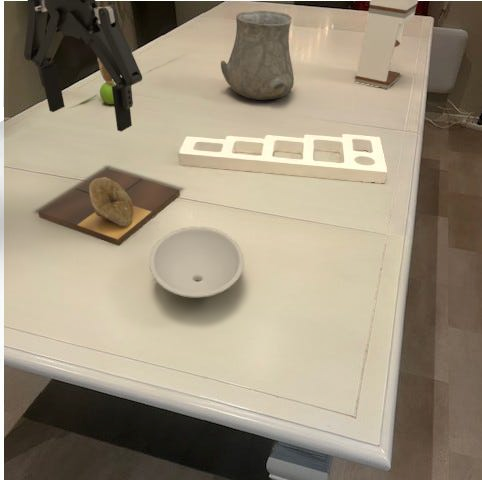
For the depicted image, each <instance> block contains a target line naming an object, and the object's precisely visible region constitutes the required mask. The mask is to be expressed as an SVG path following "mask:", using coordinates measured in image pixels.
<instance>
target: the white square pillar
mask: <svg viewBox="0 0 482 480" xmlns="http://www.w3.org/2000/svg"><path fill="white" fill-rule="evenodd" d="M418 3H419V0H370V1H369V7H368V11H367V15H366V22H365V26H364V27H365V28H364V32H363V37H362V42H361V47H360V52H359V53H360V54H359V59H358V63H357V68H356V69H357V70H356V74H355V80H354V83H355V82H359V83H364V84H369V85H373V86H378V87H382V88H387V89H388V88H389V87H390V86H391V85H392V84H393V83H394V82H395V81H396V82H397V81H399V79H400V75H401V73H400V72H398V71H392V70H390V68H391V64H392V60H393V55H394V50H395V48H396V47H399V46H400V45H401V41H402V37H403V33H404V28H405V25H406V23H407V22H408V21H410V20H411V19H413V18H414V17H415V14H416V9H417V7H418ZM396 82H395V83H396ZM359 83H358V84H359ZM395 83H394V84H395ZM364 84H363V85H364ZM394 84H393V85H394ZM393 85H392V86H393ZM373 86H372V87H373ZM392 86H391V87H392ZM378 87H377V88H378ZM391 87H390V88H391ZM382 88H381V89H382ZM390 88H389V89H390ZM387 89H386V90H387ZM389 89H388V90H389Z"/></svg>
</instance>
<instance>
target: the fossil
mask: <svg viewBox="0 0 482 480" xmlns="http://www.w3.org/2000/svg"><path fill="white" fill-rule="evenodd" d="M89 193H90V197H91V203H92V205H93V207H94V210H95V213H96V214H97V215H98V216H101V217H103V218H105V219H106V220H110V221H113V222H114V223H116V224H118V225H120V226H129V225H130V224H131V222H132V218H131V214H132V213H133V204H132V201H131V199H130V197H129V196H128V194H127V193H126V192H125V190H124V189H122V188H121V187H120V185H119V184H118V183H116V182H114V181H112V180H111V179H109V178H107V177H103V178H97V179H94V180H93V181H92V182H91V183H90V186H89Z"/></svg>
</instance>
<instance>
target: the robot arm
mask: <svg viewBox="0 0 482 480" xmlns="http://www.w3.org/2000/svg"><path fill="white" fill-rule="evenodd" d="M27 7H28V16H27V25H26V26H27V27H26V32H25V33H26V35H25V43H24V52H23V56H24V58H25V60H26V61H28V62H29V61H31V62H33V63H34V66H35V67H37V70H38V74H39V78H40V83H41V86H42V88H43V89H44V91H45V92H44V93H45V96H46V101H47V105H48V110H49V112H51V113H55V112H57V111H59V110H61V109H63V108H65V107H66V106H65V102H64V96H63V91H62V85H61V82H60V77H59V71H58V67H57V64H54V62H55V60H54V57H55V56H56V53H57V51H58V49H59V46H60V44H61V43H62V40H63V39H64V37H73V38H75V39H77V40H82V41H83V42H84V43H85V44H86V45H87V46H89V47H90V48H91V49H92V51H93V52H94V54H95V56H96V57H97V59H98V58H99V60H100V61H101V63H102V64H103V66H104V67H105V69H106V70H107V72H108V73H109V75H110V76H111V78H112V80H113V81H114V84H116V85H115V86H113V87H112V92H113V100H114V104H113V107H114V116H115V122H116V129H117V130H116V131H117V132H123V131H126V130H127V129H128V128H131V127H132V126H133V123H132V122H133V121H132V114H131V108H132V107H133V105H134V101H133V91H132V89H133V88H132V86H134V85H136V84H137V83H139V82H142V81H143V75H142V73H141V70H140V68H139V66H138V63H137V62H136V59H135V57H134V55H133V52H132V50H131V48H130V46H129V43H128V41H127V38H126V35H125V33H124V32H123V29H122V27H121V24H120V20H119V15H118V10H117V7H116V6H115V5H113V4H111V5H107V6H98V3H97V1H96V0H27ZM48 14H49V16H50V17H49V20H48Z"/></svg>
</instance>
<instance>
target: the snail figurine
mask: <svg viewBox="0 0 482 480" xmlns="http://www.w3.org/2000/svg"><path fill="white" fill-rule="evenodd" d="M97 63H98V67H99V68H98V69H99V72H100V74H101V77H102V79H103V80H104V83H103V84H102V85H101V86H100V88H99V95H100V98H101V100H102V101H103V102H104V103H106V104H108V105H114V100H113V92H112V87H113V86H115V85H116V84H115V82H114V81H113V79H112V78H111V76H110V75H109V73H108V72H107V70H106V69H105V67H104V66H103V64H102V63H101V61H100V60H99V58H98V57H97Z"/></svg>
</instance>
